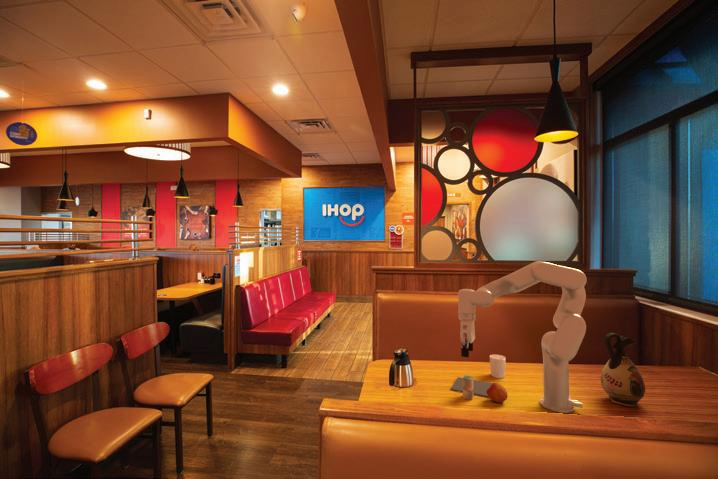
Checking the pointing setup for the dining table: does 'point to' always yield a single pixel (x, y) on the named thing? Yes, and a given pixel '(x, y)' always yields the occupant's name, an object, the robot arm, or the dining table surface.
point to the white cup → (497, 366)
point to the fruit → (497, 393)
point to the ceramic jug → (621, 374)
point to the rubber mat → (479, 387)
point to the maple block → (468, 387)
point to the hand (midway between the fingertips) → (467, 353)
